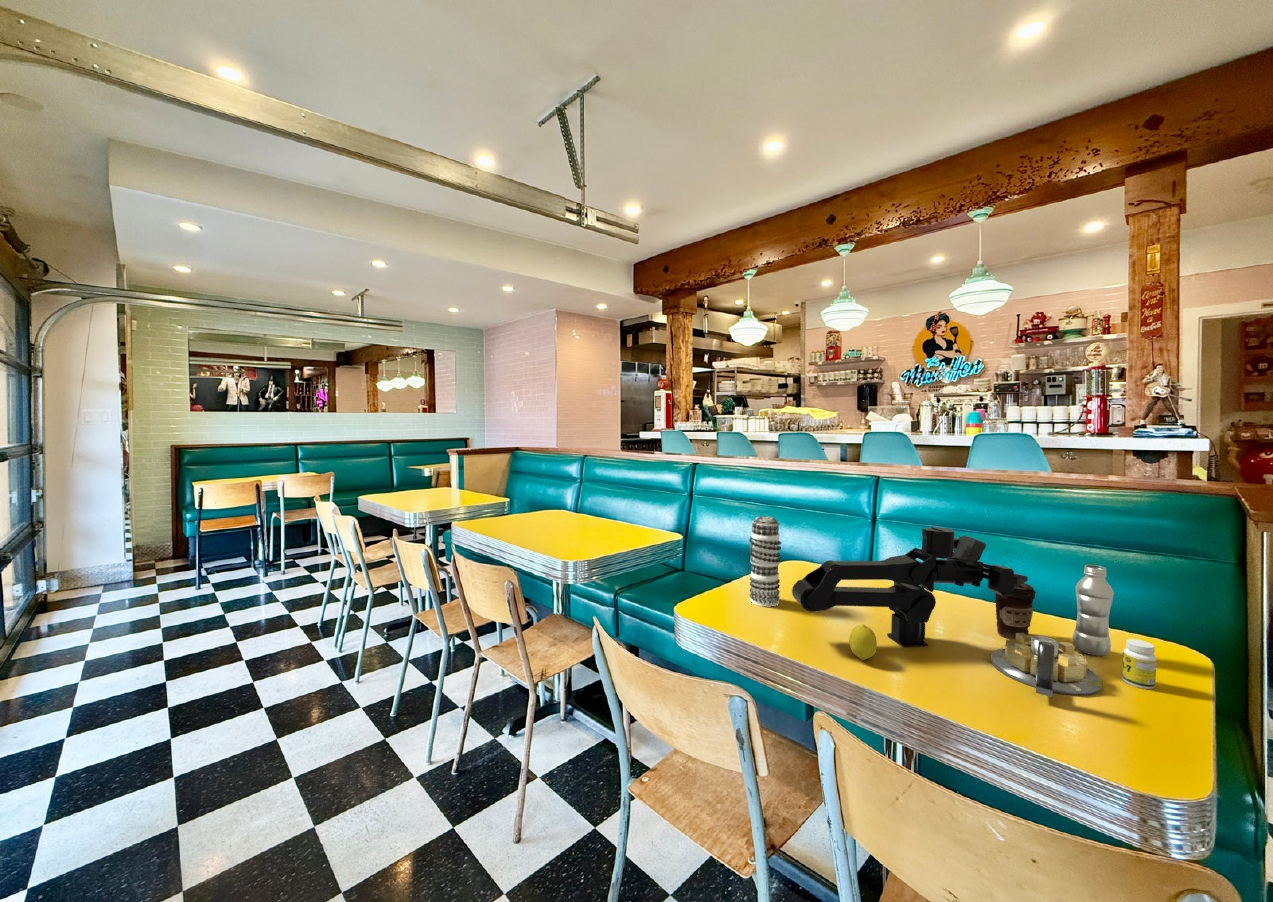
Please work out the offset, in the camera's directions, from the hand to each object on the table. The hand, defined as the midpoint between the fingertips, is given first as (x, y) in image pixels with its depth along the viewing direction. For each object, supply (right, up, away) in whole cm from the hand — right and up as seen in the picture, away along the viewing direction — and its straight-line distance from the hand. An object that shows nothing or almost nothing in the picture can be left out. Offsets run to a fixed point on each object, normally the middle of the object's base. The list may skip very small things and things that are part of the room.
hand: (1011, 573), depth 119 cm
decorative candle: (-53, -15, +26) cm, 61 cm away
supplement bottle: (+11, -18, -20) cm, 28 cm away
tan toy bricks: (-8, -16, -19) cm, 26 cm away
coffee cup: (+3, -16, +3) cm, 17 cm away
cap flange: (-5, -17, -15) cm, 23 cm away
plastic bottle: (+14, -17, -6) cm, 22 cm away
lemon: (-40, -17, -10) cm, 45 cm away
